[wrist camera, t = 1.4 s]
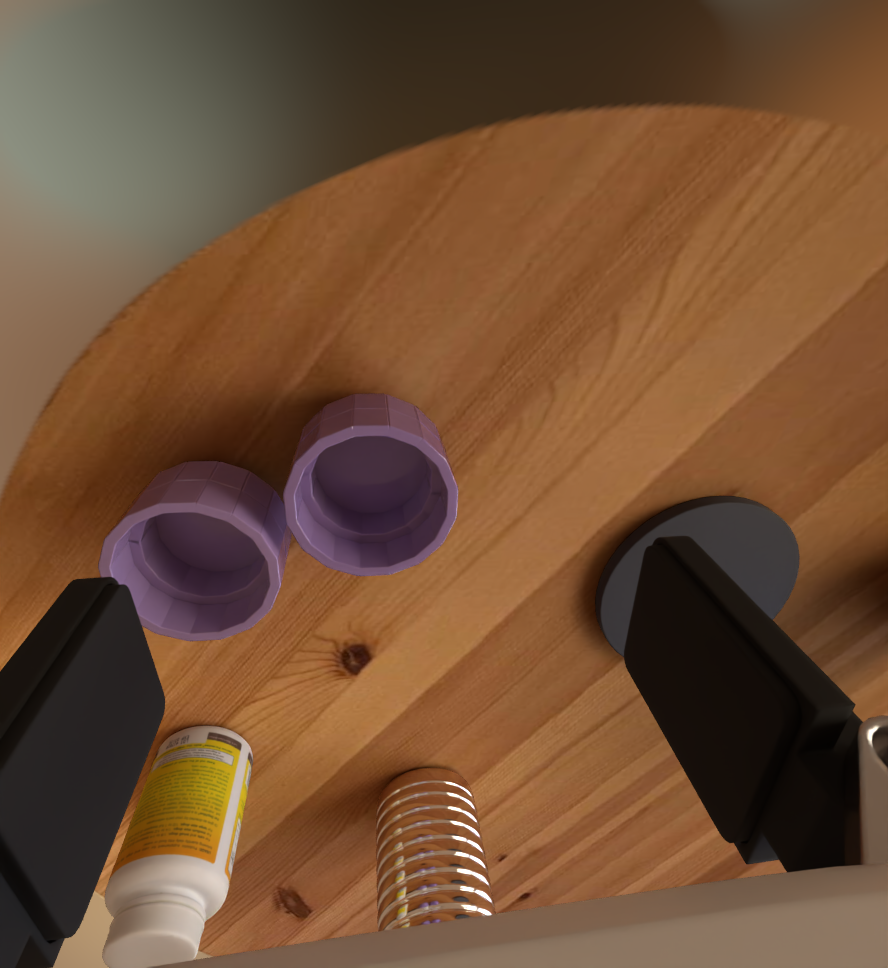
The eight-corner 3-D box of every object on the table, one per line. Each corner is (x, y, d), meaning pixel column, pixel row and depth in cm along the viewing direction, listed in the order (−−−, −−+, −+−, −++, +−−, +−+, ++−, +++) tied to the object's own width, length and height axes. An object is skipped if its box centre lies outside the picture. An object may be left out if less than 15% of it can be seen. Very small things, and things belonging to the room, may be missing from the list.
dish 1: (108, 488, 25) (59, 542, 21) (246, 432, 24) (223, 477, 20) (193, 596, 28) (165, 661, 24) (316, 548, 28) (308, 606, 24)
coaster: (573, 543, 30) (579, 551, 29) (785, 463, 29) (795, 469, 28) (616, 684, 35) (621, 694, 34) (794, 619, 35) (803, 628, 34)
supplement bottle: (140, 737, 32) (52, 946, 23) (230, 709, 32) (177, 908, 23) (187, 791, 35) (124, 998, 26) (270, 765, 34) (236, 964, 25)
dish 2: (269, 423, 24) (250, 466, 20) (411, 365, 24) (421, 397, 20) (336, 541, 28) (331, 597, 24) (462, 491, 27) (479, 540, 23)
